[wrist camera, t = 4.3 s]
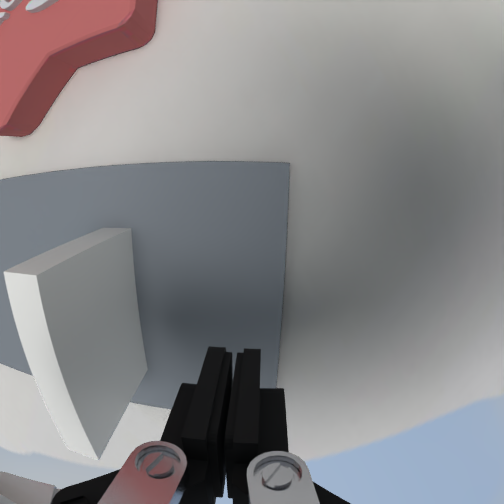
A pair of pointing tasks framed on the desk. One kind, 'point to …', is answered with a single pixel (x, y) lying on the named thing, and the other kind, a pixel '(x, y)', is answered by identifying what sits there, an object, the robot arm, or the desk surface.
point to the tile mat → (167, 256)
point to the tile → (81, 333)
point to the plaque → (59, 49)
